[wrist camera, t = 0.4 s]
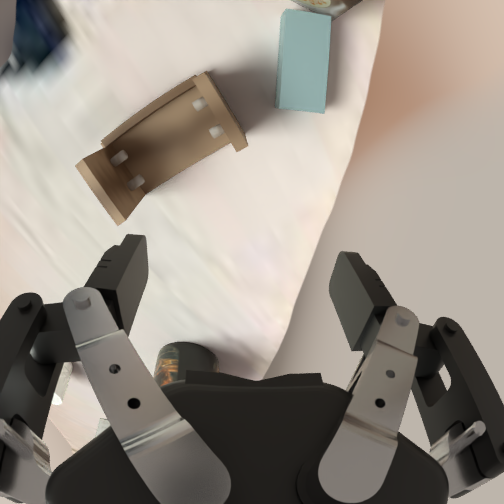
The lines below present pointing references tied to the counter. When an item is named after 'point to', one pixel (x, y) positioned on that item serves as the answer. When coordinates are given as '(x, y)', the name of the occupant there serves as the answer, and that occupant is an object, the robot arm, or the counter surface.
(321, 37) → the light teal block
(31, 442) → the robot arm
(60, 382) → the white cup
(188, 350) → the jar
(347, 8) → the coffee box
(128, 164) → the shelf rack
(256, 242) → the counter surface
